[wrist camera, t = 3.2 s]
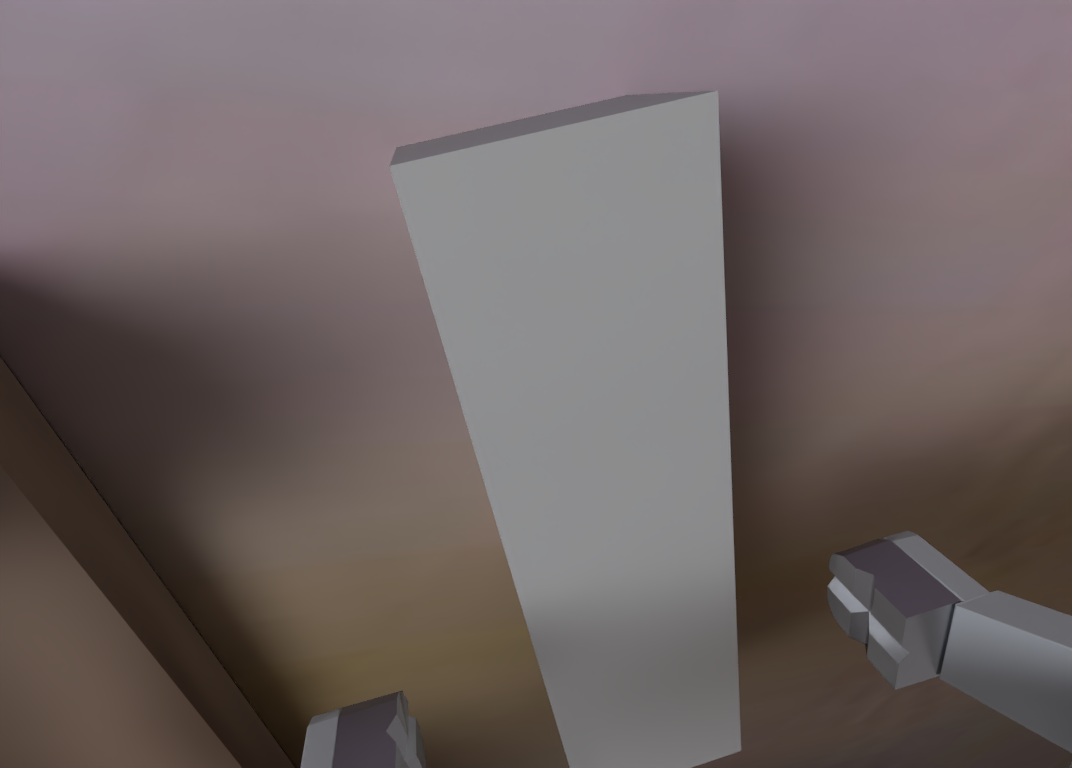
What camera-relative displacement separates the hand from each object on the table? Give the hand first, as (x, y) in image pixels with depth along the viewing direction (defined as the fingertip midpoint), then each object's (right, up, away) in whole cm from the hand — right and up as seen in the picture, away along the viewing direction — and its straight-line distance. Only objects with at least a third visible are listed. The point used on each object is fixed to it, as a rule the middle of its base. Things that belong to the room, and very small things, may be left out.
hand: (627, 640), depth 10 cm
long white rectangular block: (-1, +3, +4) cm, 5 cm away
